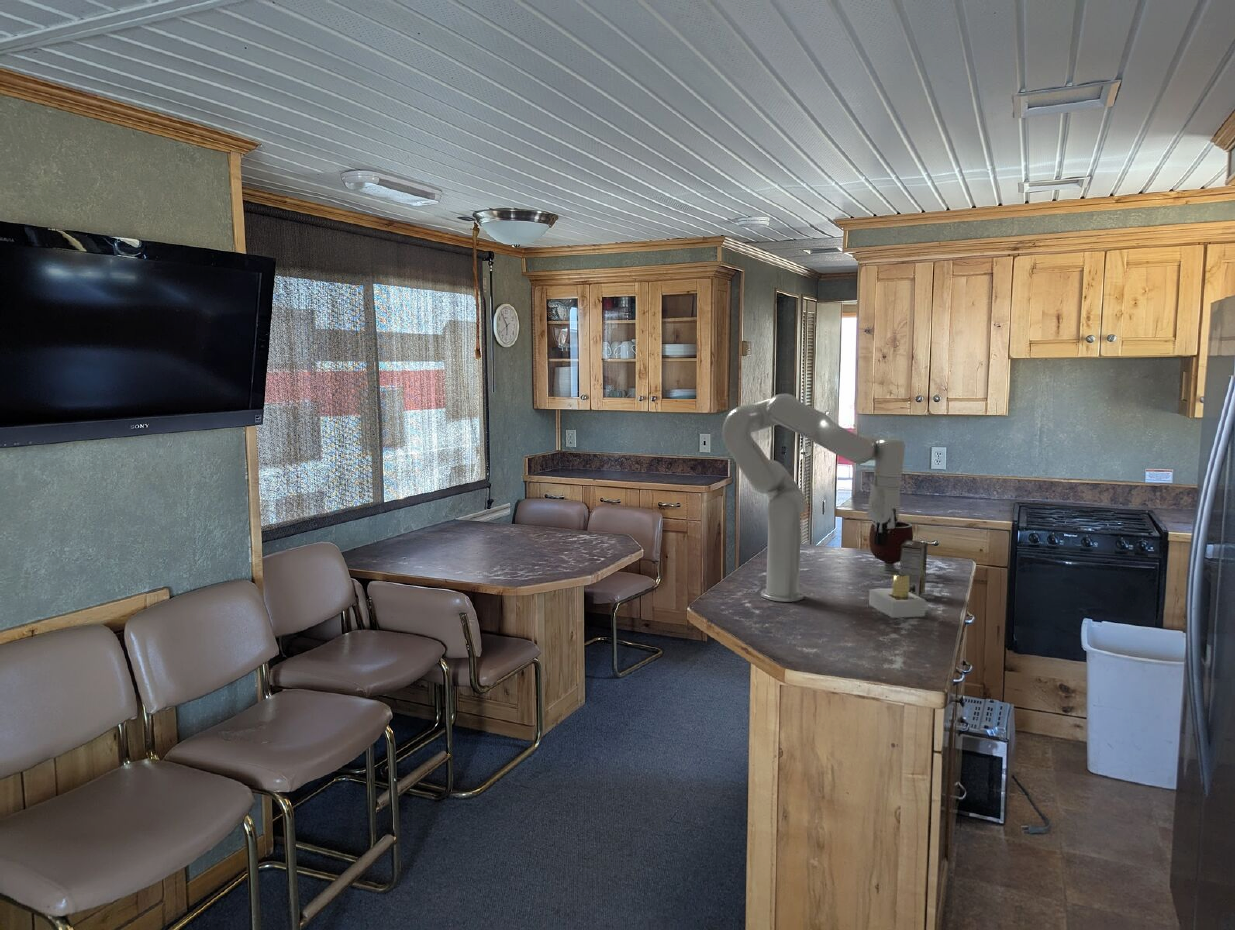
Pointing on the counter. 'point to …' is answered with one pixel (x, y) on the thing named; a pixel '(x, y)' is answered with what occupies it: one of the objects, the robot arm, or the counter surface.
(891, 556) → the dark red goblet
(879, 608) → the block
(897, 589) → the cylinder
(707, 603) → the counter surface
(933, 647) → the counter surface
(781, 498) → the robot arm
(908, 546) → the coffee box
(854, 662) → the counter surface
